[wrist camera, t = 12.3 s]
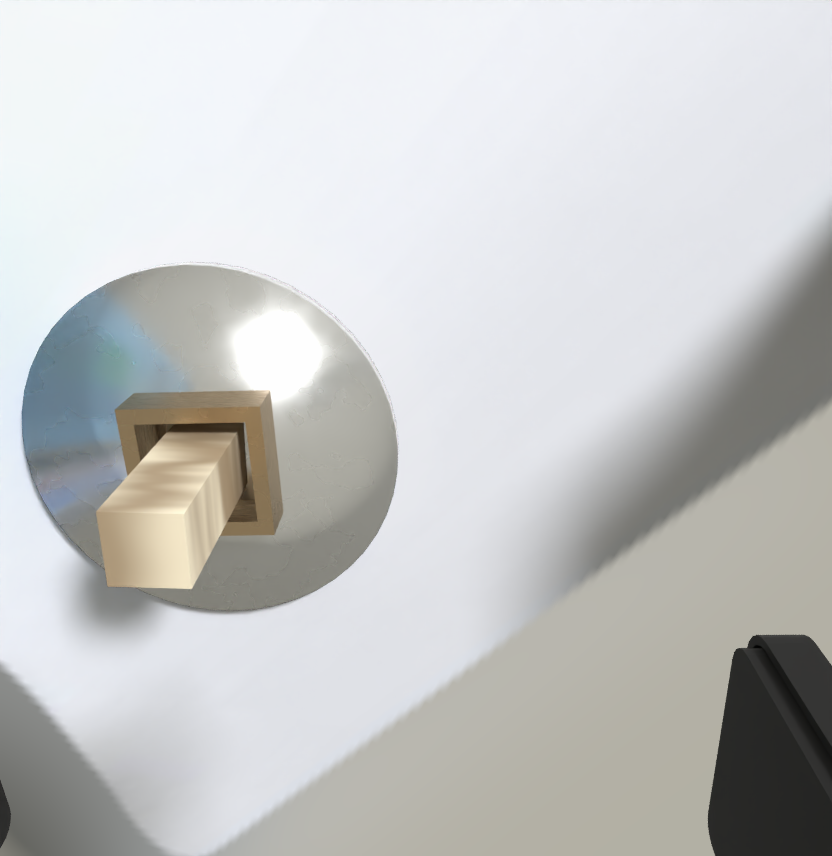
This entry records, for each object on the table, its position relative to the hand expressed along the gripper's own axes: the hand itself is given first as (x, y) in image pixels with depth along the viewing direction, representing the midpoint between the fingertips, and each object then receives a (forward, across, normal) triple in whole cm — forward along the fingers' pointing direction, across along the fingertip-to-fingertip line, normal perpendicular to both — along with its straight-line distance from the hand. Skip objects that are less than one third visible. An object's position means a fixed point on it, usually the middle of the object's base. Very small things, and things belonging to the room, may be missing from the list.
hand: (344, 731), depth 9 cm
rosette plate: (+29, +12, +9) cm, 32 cm away
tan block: (+28, +11, +8) cm, 31 cm away
